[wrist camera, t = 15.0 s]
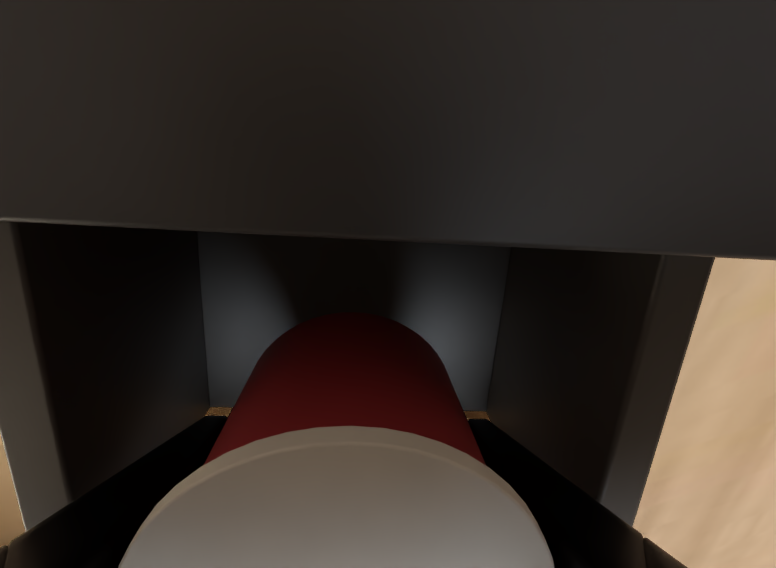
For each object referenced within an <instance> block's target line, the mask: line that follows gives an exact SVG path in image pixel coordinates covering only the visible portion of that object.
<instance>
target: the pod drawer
mask: <svg viewBox="0 0 776 568" xmlns="http://www.w3.org/2000/svg"><path fill="white" fill-rule="evenodd" d="M714 259H715V257H699V256H680V255H660V254H640V253H620V252H600V251H581V250H561V249H541V248H521V247H501V246H482V245H462V244H442V243H422V242H402V241H383V240H363V239H343V238H323V237H303V236H284V235H264V234H244V233H224V232H204V231H185V230H165V229H145V228H125V227H106V226H86V225H66V224H46V223H26V222H7V221H0V434H1V438H2V442H3V446H4V450H5V453H6V457H7V461H8V465H9V469H10V473H11V477H12V481H13V485H14V489H15V493H16V497H17V500H18V504H19V508H20V512H21V516H22V520H23V524H24V528H25V532H26V531H28V530H29V529H31V528H32V527H34V526H35V525H37V524H38V523H40V522H42V521H43V520H45V519H46V518H48V517H49V516H51V515H52V514H54V513H56V512H57V511H59V510H60V509H62V508H63V507H65V506H66V505H68V504H70V503H71V502H73V501H74V500H76V499H77V498H79V497H80V496H82V495H84V494H85V493H87V492H88V491H90V490H91V489H93V488H94V487H96V486H98V485H99V484H101V483H102V482H104V481H105V480H107V479H108V478H110V477H112V476H113V475H115V474H116V473H118V472H119V471H121V470H122V469H124V468H126V467H127V466H129V465H130V464H132V463H133V462H135V461H136V460H138V459H140V458H141V457H143V456H144V455H146V454H147V453H149V452H150V451H152V450H153V449H155V448H157V447H158V446H160V445H161V444H163V443H164V442H166V441H167V440H169V439H171V438H172V437H174V436H175V435H177V434H178V433H180V432H181V431H183V430H185V429H186V428H188V427H189V426H191V425H192V424H194V423H195V422H197V421H199V420H200V419H202V418H203V417H204V416H205V414H206V413H207V411H208V410H209V408H210V407H234V405H235V403H236V401H237V400H238V398H239V396H240V394H241V392H242V390H243V388H244V386H245V384H246V382H247V380H248V378H249V376H250V375H251V373H252V371H253V369H254V367H255V365H256V363H257V361H258V360H259V358H260V357H261V356H262V354H263V353H264V351H265V350H266V349H267V348H268V347H269V346H270V345H271V344H272V343H273V342H274V341H275V340H276V339H277V338H278V337H280V336H281V335H282V334H284V333H285V332H286V331H288V330H289V329H291V328H293V327H295V326H296V325H298V324H300V323H303V322H305V321H307V320H310V319H312V318H316V317H320V316H323V315H327V314H334V313H343V312H358V313H369V314H374V315H378V316H383V317H386V318H389V319H391V320H394V321H397V322H399V323H401V324H403V325H405V326H407V327H409V328H410V329H412V330H413V331H414V332H416V333H417V334H419V335H420V336H421V337H422V338H423V339H425V340H426V341H427V342H428V343H429V344H430V345H431V346H432V348H433V349H434V350H435V351H436V352H437V354H438V355H439V357H440V359H441V360H442V362H443V364H444V365H445V368H446V370H447V373H448V375H449V377H450V380H451V382H452V385H453V387H454V389H455V392H456V394H457V397H458V399H459V401H460V404H461V406H462V409H463V411H486V412H487V414H488V416H489V418H490V420H491V422H492V423H493V424H494V425H496V426H497V427H498V428H500V429H501V430H502V431H504V432H505V433H506V434H508V435H509V436H510V437H512V438H513V439H514V440H516V441H517V442H518V443H520V444H521V445H522V446H524V447H525V448H526V449H528V450H529V451H530V452H532V453H533V454H535V455H536V456H537V457H539V458H540V459H541V460H543V461H544V462H545V463H547V464H548V465H549V466H551V467H552V468H553V469H555V470H556V471H557V472H559V473H560V474H561V475H563V476H564V477H565V478H567V479H568V480H570V481H571V482H572V483H574V484H575V485H576V486H578V487H579V488H580V489H582V490H583V491H584V492H586V493H587V494H588V495H590V496H591V497H592V498H594V499H595V500H596V501H598V502H599V503H600V504H602V505H603V506H604V507H606V508H607V509H609V510H610V511H611V512H613V513H614V514H615V515H617V516H618V517H619V518H621V519H622V520H623V521H625V522H626V523H627V524H629V525H630V526H631V527H632V526H633V523H634V520H635V516H636V513H637V510H638V507H639V503H640V500H641V497H642V494H643V490H644V487H645V484H646V481H647V477H648V474H649V471H650V468H651V464H652V461H653V458H654V455H655V451H656V448H657V445H658V442H659V438H660V435H661V432H662V428H663V425H664V422H665V419H666V415H667V412H668V409H669V406H670V402H671V399H672V396H673V393H674V389H675V386H676V383H677V380H678V376H679V373H680V370H681V367H682V363H683V360H684V357H685V354H686V350H687V347H688V344H689V341H690V337H691V334H692V331H693V327H694V324H695V321H696V318H697V314H698V311H699V308H700V305H701V301H702V298H703V295H704V292H705V288H706V285H707V282H708V279H709V275H710V272H711V269H712V266H713V262H714Z"/></svg>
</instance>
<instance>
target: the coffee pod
mask: <svg viewBox="0 0 776 568" xmlns="http://www.w3.org/2000/svg"><path fill="white" fill-rule="evenodd" d="M118 568H555V567H554V562H553V558H552V555H551V552H550V550H549V547H548V545H547V542H546V540H545V537H544V535H543V533H542V531H541V529H540V527H539V525H538V523H537V521H536V520H535V518H534V516H533V515H532V513H531V511H530V510H529V508H528V507H527V505H526V503H525V502H524V501H523V500H522V498H521V497H520V496H519V495H518V494H517V493H516V492H515V490H514V489H513V488H512V487H511V486H510V485H509V484H508V483H507V482H506V481H505V480H503V479H502V478H501V477H500V476H499V475H497V474H496V473H495V472H494V471H493V470H492V469H490V468H489V467H487V466H486V464H485V461H484V459H483V457H482V454H481V452H480V449H479V447H478V445H477V442H476V440H475V437H474V435H473V433H472V430H471V428H470V425H469V423H468V421H467V418H466V416H465V413H464V411H463V409H462V406H461V404H460V401H459V399H458V397H457V394H456V392H455V389H454V387H453V385H452V382H451V380H450V377H449V375H448V373H447V370H446V368H445V365H444V364H443V362H442V360H441V359H440V357H439V355H438V354H437V352H436V351H435V350H434V349H433V348H432V346H431V345H430V344H429V343H428V342H427V341H426V340H425V339H423V338H422V337H421V336H420V335H419V334H417V333H416V332H414V331H413V330H412V329H410V328H409V327H407V326H405V325H403V324H401V323H399V322H397V321H394V320H391V319H389V318H386V317H383V316H378V315H374V314H369V313H358V312H343V313H334V314H327V315H323V316H320V317H316V318H312V319H310V320H307V321H305V322H303V323H300V324H298V325H296V326H295V327H293V328H291V329H289V330H288V331H286V332H285V333H284V334H282V335H281V336H280V337H278V338H277V339H276V340H275V341H274V342H273V343H272V344H271V345H270V346H269V347H268V348H267V349H266V350H265V351H264V353H263V354H262V356H261V357H260V358H259V360H258V361H257V363H256V365H255V367H254V369H253V371H252V373H251V375H250V376H249V378H248V380H247V382H246V384H245V386H244V388H243V390H242V392H241V394H240V396H239V398H238V400H237V401H236V403H235V405H234V407H233V409H232V411H231V413H230V415H229V417H228V419H227V421H226V423H225V425H224V427H223V428H222V430H221V432H220V434H219V436H218V438H217V440H216V442H215V444H214V446H213V448H212V450H211V452H210V453H209V455H208V457H207V459H206V461H205V463H204V465H203V466H201V467H200V468H198V469H197V470H196V471H194V472H193V473H192V474H190V475H189V476H188V477H186V478H185V479H184V480H182V481H181V482H180V483H178V484H177V485H176V486H175V487H174V488H173V489H172V490H171V491H170V492H169V493H168V494H167V495H166V496H165V497H164V498H163V499H161V500H160V501H159V502H158V503H157V504H156V506H155V507H154V509H153V510H152V511H151V513H150V514H149V515H148V517H147V518H146V519H145V521H144V522H143V523H142V525H141V526H140V528H139V530H138V531H137V533H136V535H135V536H134V538H133V540H132V541H131V543H130V545H129V547H128V549H127V551H126V553H125V555H124V556H123V558H122V560H121V562H120V564H119V567H118Z"/></svg>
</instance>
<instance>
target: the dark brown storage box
mask: <svg viewBox="0 0 776 568" xmlns="http://www.w3.org/2000/svg"><path fill="white" fill-rule="evenodd" d="M0 221H7V222H26V223H46V224H66V225H86V226H106V227H125V228H145V229H165V230H185V231H204V232H224V233H244V234H264V235H284V236H303V237H323V238H343V239H363V240H383V241H402V242H422V243H442V244H462V245H482V246H501V247H521V248H541V249H561V250H581V251H600V252H620V253H640V254H660V255H680V256H699V257H719V258H739V259H759V260H776V0H0Z"/></svg>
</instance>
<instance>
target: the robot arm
mask: <svg viewBox="0 0 776 568" xmlns="http://www.w3.org/2000/svg"><path fill="white" fill-rule="evenodd" d="M227 419H228V417H226V416H205V417H203V418H202V419H200V420H199V421H197V422H195V423H194V424H192V425H191V426H189V427H188V428H186V429H185V430H183V431H181V432H180V433H178V434H177V435H175V436H174V437H172V438H171V439H169V440H167V441H166V442H164V443H163V444H161V445H160V446H158V447H157V448H155V449H153V450H152V451H150V452H149V453H147V454H146V455H144V456H143V457H141V458H140V459H138V460H136V461H135V462H133V463H132V464H130V465H129V466H127V467H126V468H124V469H122V470H121V471H119V472H118V473H116V474H115V475H113V476H112V477H110V478H108V479H107V480H105V481H104V482H102V483H101V484H99V485H98V486H96V487H94V488H93V489H91V490H90V491H88V492H87V493H85V494H84V495H82V496H80V497H79V498H77V499H76V500H74V501H73V502H71V503H70V504H68V505H66V506H65V507H63V508H62V509H60V510H59V511H57V512H56V513H54V514H52V515H51V516H49V517H48V518H46V519H45V520H43V521H42V522H40V523H38V524H37V525H35V526H34V527H32V528H31V529H29V530H28V531H26V532H24V533H23V534H21V535H20V536H18V537H17V538H15V539H14V540H12V541H11V542H10V543H9V546H2V547H1V548H0V568H118V567H119V564H120V562H121V560H122V558H123V556H124V555H125V553H126V551H127V549H128V547H129V545H130V543H131V541H132V540H133V538H134V536H135V535H136V533H137V531H138V530H139V528H140V526H141V525H142V523H143V522H144V521H145V519H146V518H147V517H148V515H149V514H150V513H151V511H152V510H153V509H154V507H155V506H156V504H157V503H158V502H159V501H160V500H161V499H163V498H164V497H165V496H166V495H167V494H168V493H169V492H170V491H171V490H172V489H173V488H174V487H175V486H176V485H177V484H178V483H180V482H181V481H182V480H184V479H185V478H186V477H188V476H189V475H190V474H192V473H193V472H194V471H196V470H197V469H198V468H200V467H201V466H203V465H204V463H205V461H206V459H207V457H208V455H209V453H210V452H211V450H212V448H213V446H214V444H215V442H216V440H217V438H218V436H219V434H220V432H221V430H222V428H223V427H224V425H225V423H226V421H227ZM468 423H469V425H470V428H471V430H472V433H473V435H474V437H475V440H476V442H477V445H478V447H479V449H480V452H481V454H482V457H483V459H484V461H485V464H486V466H487V467H489V468H490V469H492V470H493V471H494V472H495V473H496V474H497V475H499V476H500V477H501V478H502V479H503V480H505V481H506V482H507V483H508V484H509V485H510V486H511V487H512V488H513V489H514V490H515V492H516V493H517V494H518V495H519V496H520V497H521V498H522V500H523V501H524V502H525V503H526V505H527V507H528V508H529V510H530V511H531V513H532V515H533V516H534V518H535V520H536V521H537V523H538V525H539V527H540V529H541V531H542V533H543V535H544V537H545V540H546V542H547V545H548V547H549V550H550V552H551V555H552V558H553V562H554V567H555V568H687V567H686V566H685V565H683V564H682V563H680V562H679V561H678V560H676V559H675V558H673V557H672V556H671V555H669V554H668V553H667V552H665V551H664V550H663V549H661V548H660V547H659V546H657V545H656V544H655V543H653V542H652V541H650V540H649V539H648V538H643V536H642V534H641V533H639V532H638V531H637V530H635V529H634V528H633V527H631V526H630V525H629V524H627V523H626V522H625V521H623V520H622V519H621V518H619V517H618V516H617V515H615V514H614V513H613V512H611V511H610V510H609V509H607V508H606V507H604V506H603V505H602V504H600V503H599V502H598V501H596V500H595V499H594V498H592V497H591V496H590V495H588V494H587V493H586V492H584V491H583V490H582V489H580V488H579V487H578V486H576V485H575V484H574V483H572V482H571V481H570V480H568V479H567V478H565V477H564V476H563V475H561V474H560V473H559V472H557V471H556V470H555V469H553V468H552V467H551V466H549V465H548V464H547V463H545V462H544V461H543V460H541V459H540V458H539V457H537V456H536V455H535V454H533V453H532V452H530V451H529V450H528V449H526V448H525V447H524V446H522V445H521V444H520V443H518V442H517V441H516V440H514V439H513V438H512V437H510V436H509V435H508V434H506V433H505V432H504V431H502V430H501V429H500V428H498V427H497V426H496V425H494V424H493V423H491V422H490V421H489V420H486V419H469V420H468Z"/></svg>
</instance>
